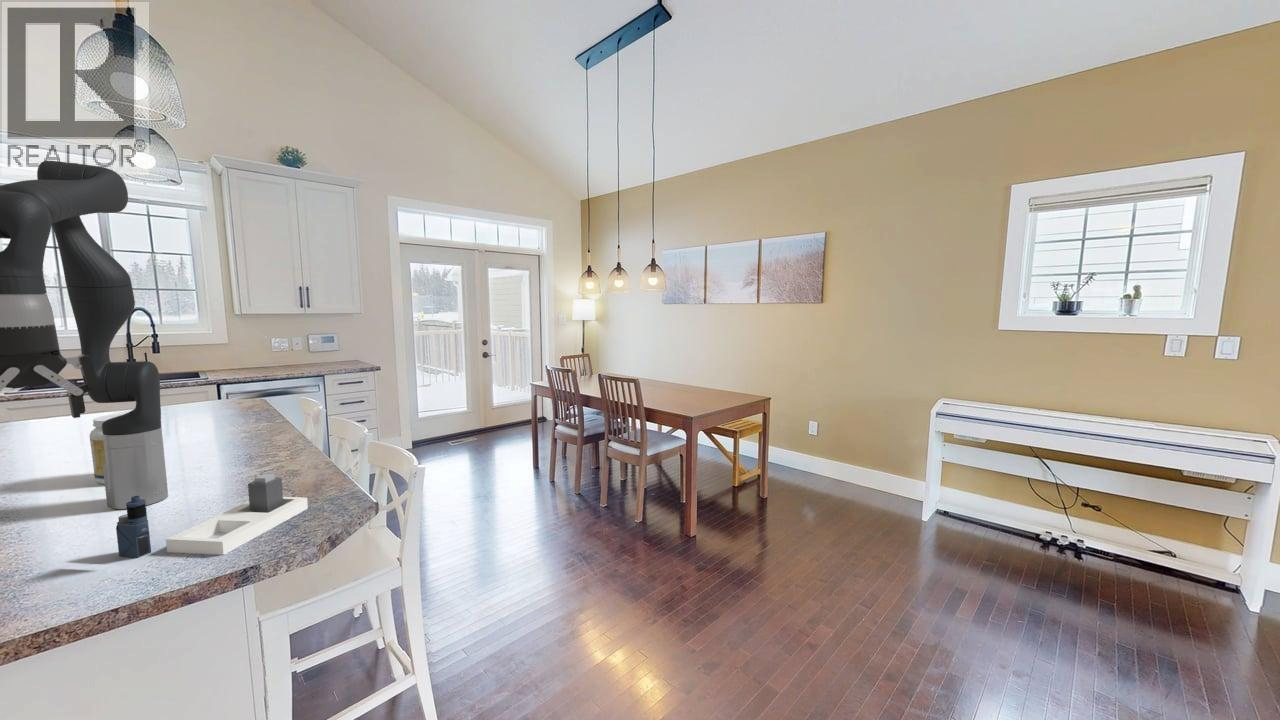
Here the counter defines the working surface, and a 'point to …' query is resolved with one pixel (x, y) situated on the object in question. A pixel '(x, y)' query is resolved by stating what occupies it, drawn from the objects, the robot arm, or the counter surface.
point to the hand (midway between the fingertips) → (35, 422)
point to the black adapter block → (265, 493)
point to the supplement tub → (99, 446)
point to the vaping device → (134, 530)
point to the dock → (233, 528)
